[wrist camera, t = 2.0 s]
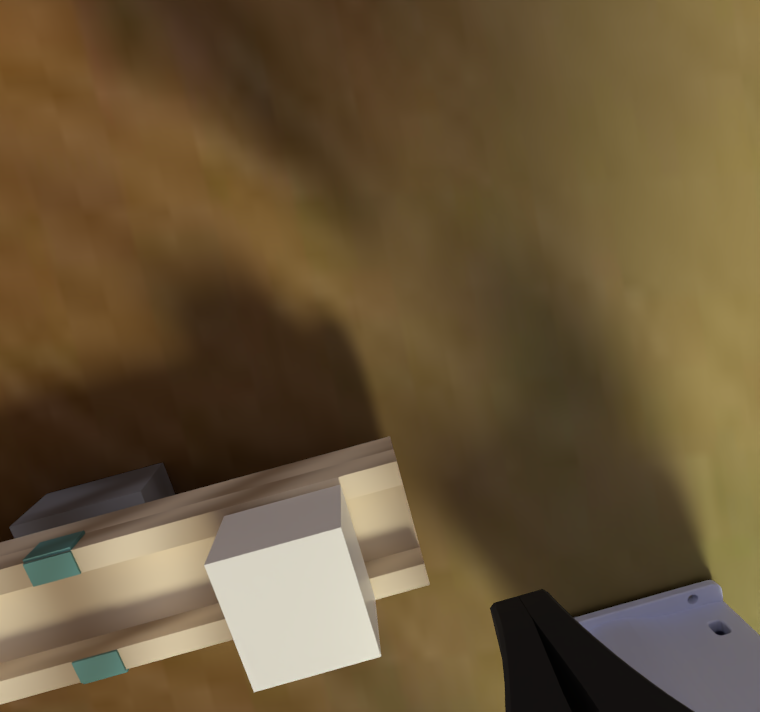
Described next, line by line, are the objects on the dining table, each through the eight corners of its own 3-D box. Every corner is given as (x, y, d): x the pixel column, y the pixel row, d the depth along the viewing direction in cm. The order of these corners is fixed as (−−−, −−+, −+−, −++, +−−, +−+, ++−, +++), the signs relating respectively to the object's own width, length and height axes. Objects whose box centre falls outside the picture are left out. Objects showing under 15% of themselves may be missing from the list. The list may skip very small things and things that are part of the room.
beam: (381, 403, 22) (399, 474, 15) (414, 524, 23) (444, 638, 16) (-178, 555, 21) (-408, 696, 15) (-109, 669, 23) (-290, 844, 16)
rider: (340, 469, 18) (341, 527, 14) (372, 578, 19) (381, 656, 16) (230, 499, 18) (204, 564, 14) (269, 606, 19) (254, 692, 15)
